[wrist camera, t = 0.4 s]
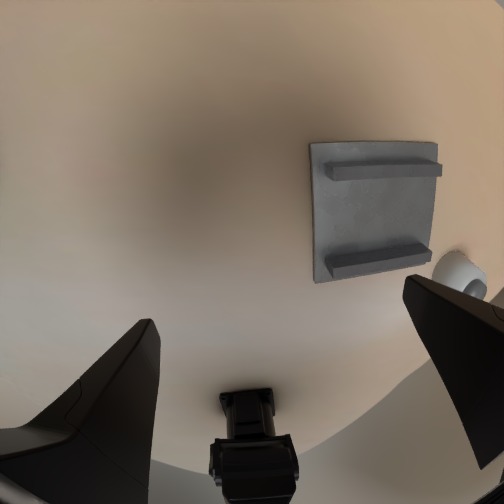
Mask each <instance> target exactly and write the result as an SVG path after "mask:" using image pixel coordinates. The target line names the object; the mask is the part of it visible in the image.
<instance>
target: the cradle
mask: <svg viewBox="0 0 504 504" xmlns="http://www.w3.org/2000/svg"><path fill="white" fill-rule="evenodd" d="M309 154H310V170H311V190H312V215H313V280H314V282H315V284H317V283H323V282H329V281H335V280H341V279H347V278H353V277H359V276H365V275H370V274H376V273H381V272H387V271H392V270H397V269H403V268H408V267H413V266H418V265H423V264H425V263H426V262H430V261H431V256H432V251H431V250H430V249H428V246H429V240H430V234H431V227H432V219H433V211H434V202H435V191H436V177H438V176H442V164H439V163H437V157H438V144H436V143H428V142H403V141H348V142H322V143H309Z"/></svg>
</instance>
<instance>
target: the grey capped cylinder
mask: <svg viewBox="0 0 504 504" xmlns="http://www.w3.org/2000/svg"><path fill="white" fill-rule="evenodd" d="M432 280H433V281H435V282H438V283H441V284H443V285H446V286H448V287H451V288H453V289H456V290H458V291H461V292H463V293H466V294H468V295H471V296H473V297H476V298H478V299H480V300H483V299H484V297H485V295H486V292H487V286H486V283H487V276H486V274H485V272H483V271H482V270H481V269H480V268H479V267H477V266H476V265H475V264H474V263H473V262H471V261H470V260H469V259H468V258H467V257H465V256H464V255H463V254H462V253H460V252H459V251H451V252H449V253H447V254H446V255H444V256H443V257H442V258H441V259H440V260H439V262H438V263H437V265H436V267H435V269H434V272H433V276H432Z"/></svg>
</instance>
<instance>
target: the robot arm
mask: <svg viewBox="0 0 504 504" xmlns="http://www.w3.org/2000/svg"><path fill="white" fill-rule="evenodd" d="M403 301H404V304H405V306H406V308H407V310H408V312H409V315H410V317H411V319H412V321H413V324H414V326H415V328H416V331H417V333H418V335H419V337H420V338H421V340H422V342H423V344H424V346H425V348H426V349H427V351H428V353H429V355H430V357H431V359H432V361H433V363H434V364H435V366H436V368H437V370H438V372H439V374H440V376H441V378H442V380H443V382H444V384H445V386H446V389H447V390H448V393H449V395H450V397H451V399H452V401H453V403H454V406H455V408H456V410H457V412H458V414H459V417H460V419H461V421H462V423H463V426H464V429H465V431H466V433H467V436H468V439H469V441H470V444H471V446H472V449H473V451H474V454H475V457H476V460H477V462H478V465H479V468H480V469H481V470H482V469H484V468H485V467H486V466H488V465H489V464H491V463H492V462H493V461H495V460H496V459H498V458H499V457H500V456H502V455H503V454H504V309H502V308H500V307H497V306H495V305H491V304H490V303H488V302H485V301H483V300H480V299H478V298H476V297H473V296H471V295H468V294H466V293H463V292H461V291H458V290H456V289H453V288H451V287H448V286H446V285H443V284H441V283H438V282H435V281H433V280H430V279H428V278H425V277H422V276H420V275H417V274H414V275H410V276H407V277H406V279H405V284H404V290H403ZM160 347H161V340H160V336H159V333H158V331H157V329H156V326H155V324H154V322H153V320H152V319H150V318H149V319H141V320H139V321H138V322H137V323H136V324H135V325H134V326H133V327H132V328H131V329H130V330H129V331H127V332H126V333H125V334H124V335H123V336H122V337H121V338H120V339H119V340H118V341H117V342H116V343H115V344H114V345H113V346H112V347H111V348H110V349H109V350H107V351H106V352H105V353H104V354H103V355H102V356H101V357H100V358H99V359H98V360H97V361H96V362H95V363H94V364H93V365H92V366H91V367H90V368H89V369H88V370H87V371H86V372H85V373H84V374H83V375H82V376H81V377H80V378H79V379H77V380H76V381H75V382H74V383H73V384H72V385H71V386H70V387H69V388H68V389H67V390H66V391H65V392H64V393H63V394H62V395H61V396H59V397H58V398H57V399H56V400H55V401H54V402H52V403H51V404H50V405H49V406H48V407H46V408H45V409H44V410H43V411H42V412H40V413H39V414H38V415H37V416H36V417H35V418H33V419H32V420H31V421H30V422H28V423H27V424H25V425H23V426H20V427H17V428H8V429H7V428H6V429H0V504H148V485H149V470H150V458H151V447H152V437H153V427H154V419H155V410H156V402H157V394H158V387H159V377H160ZM219 399H220V402H221V405H222V408H223V410H224V413H225V416H226V418H227V439H220V438H215V443H213V444H211V445H210V463H209V475H211V476H212V477H213V478H214V481H215V482H216V486H222V493H223V497H224V500H225V503H226V504H289V502H290V501H291V498H292V496H293V494H294V493H295V491H296V482H295V481H298V478H299V465H298V460H297V456H296V453H295V449H294V446H293V443H292V440H291V436H290V434H285V435H282V436H276V434H275V428H274V422H273V416H275V409H274V399H273V391H272V389H262V390H254V391H246V392H237V393H226V394H220V395H219ZM472 504H504V469H503V473H502V476H501V480H500V483H499V485H497V486H496V487H495V488H493V489H492V490H491V491H489V492H488V493H486V494H485V495H483V496H482V497H481V498H479V499H478V500H476V501H475V502H473V503H472Z"/></svg>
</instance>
